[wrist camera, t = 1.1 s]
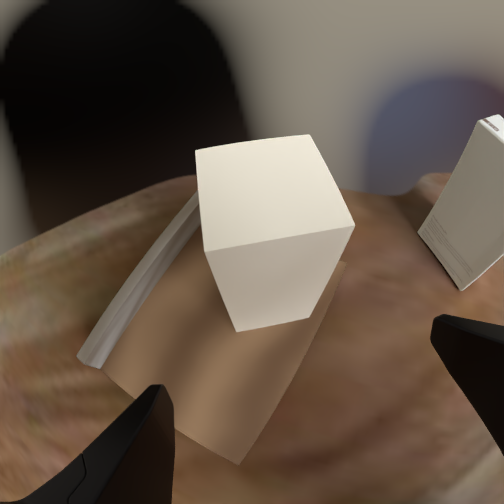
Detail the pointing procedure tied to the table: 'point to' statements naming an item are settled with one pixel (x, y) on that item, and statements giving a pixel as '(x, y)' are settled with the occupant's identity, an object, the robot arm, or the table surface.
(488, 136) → the skincare box
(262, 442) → the table surface
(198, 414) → the shelf board
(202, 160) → the box
